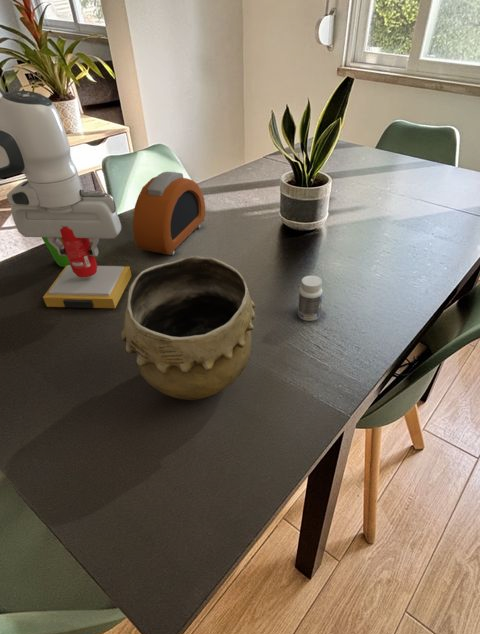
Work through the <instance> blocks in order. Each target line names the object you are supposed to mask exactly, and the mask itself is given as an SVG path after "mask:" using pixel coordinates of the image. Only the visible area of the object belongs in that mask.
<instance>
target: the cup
mask: <svg viewBox="0 0 480 634" xmlns="http://www.w3.org/2000/svg"><path fill="white" fill-rule="evenodd" d="M41 239H42V241H43V243H44V244H45V246H46V247H47V249H48V251H49V253H50V255H51V256H52V258H53V260H54V261H55V263H56V264H57V265H58V266H59V267H62V268H65V267H66V265H70V262H69V259H68V257H67V256H60V255H59V254H58V251H57V249H56V248H55V247H54V246H53V245H51V244H50V243H49V242H48V239H47V237H41ZM58 240H59V241H60V242H61V243H62V240H61V238H58ZM62 244H63V243H62Z"/></svg>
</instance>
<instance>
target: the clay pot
mask: <svg viewBox="0 0 480 634" xmlns="http://www.w3.org/2000/svg"><path fill="white" fill-rule="evenodd" d="M254 308H256V304H255V303H254V301H253V300H252V298H251V296H250V292H249V289H248V285H247V283H246V280H245V278H244V276H243V275H242V274H241V273H240V271H238V270H237V269H236V268H234V267H233V266H231V265H229V264H228V263H226V262H225V261H222V260H221V259H217V258H215V257H203V256H201V255H191V256H187V257H183V258H179V259H177V260H174V261H170V262H165V263H160V264H157V265H154V266H151V267H147V268H146V269H144V270H142V271H140V273H139V274H138V275H137V276H136V277H135V278H134V280H133V281H132V283H131V284H130V286H129V289H128V294H127V305H126V309H125V312H124V320H123V330H122V331H121V334H120V337H121V341H122V342H125V352H126V353H128V354H129V355H131V354H135V356H136V364H137V366H138V369H139V372H140V374H141V376H142V378H144V380H145V381H146V382H147V384H149V385H150V386H152V387H153V388H154V389H156V390H157V391H159V392H160V393H162V394H163V395H166V396H169V397H171V398H174V399H179V400H188V401H193V400H194V401H197V400H200V399H204V398H209V397H211V396H213V395H217V394H218V393H219V392H221V391H223V390H224V389H226V388H228V387H229V386H230V385H231V384H233V383H234V382H235V381H236V380H237V379H238V378H239V377H240V376H241V375H242V373H243V372H244V370H245V368H246V367H247V364H248V361H249V359H250V355H251V349H252V333H251V331H253V330H254V328H255V327H254V324H253V323H252V321H253V320H255V319H256V312H255V310H254Z"/></svg>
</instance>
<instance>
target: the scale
mask: <svg viewBox="0 0 480 634" xmlns="http://www.w3.org/2000/svg"><path fill="white" fill-rule="evenodd" d="M132 276H133V274H132V270H131V267H130V266H129V265H126V266H124V265H97V272H96V274H94V275H93V276H91V277H87V278H80V277H78V276H77V275H76V274H75V273H74V272H73V270H72V268H71V265H66V267H63V269H62V271H61V272H60V273H59V275H58V276H57V277H56V279H55V280H54V281H53V283H52V284H51V286H50V287H49V288H48V290H47V291H46V292H45V294H44V295H43V296H42V299H43V301H44V304H45V305H46V307H48V308H50V307H51V308H77V309H79V308H81V309H116V308H117V305H118V304H119V301H120V300H121V299H122V296H123V293H124V292H125V290H126V288H127V286H128V284H129V282H130V280H131V278H132Z"/></svg>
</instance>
